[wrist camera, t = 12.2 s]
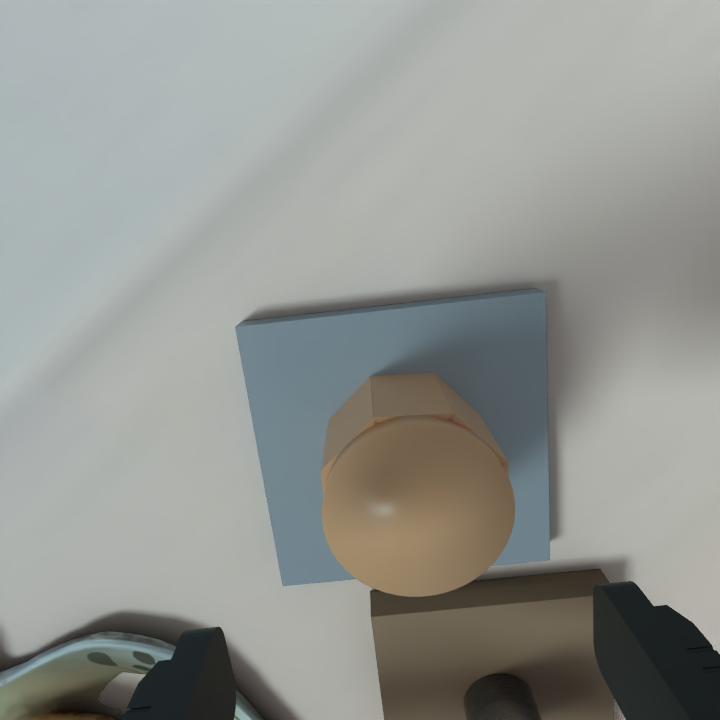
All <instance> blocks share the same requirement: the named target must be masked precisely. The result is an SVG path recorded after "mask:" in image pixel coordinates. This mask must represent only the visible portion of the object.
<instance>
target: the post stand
mask: <svg viewBox="0 0 720 720" xmlns="http://www.w3.org/2000/svg"><path fill="white" fill-rule="evenodd" d="M602 584H610V583H609V581H608V580H607V578H606V577H605V575H604V574H603V573H602V571H601V570H600V569H595V570H585V571H575V572H564V573H554V574H544V575H533V576H523V577H512V578H502V579H492V580H481V581H471V582H469V583H468V584H466V585H464V586H462V587H459V588H457V589H455V590H452V591H449V592H446V593H442V594H437V595H432V596H423V597H407V596H399V595H394V594H389V593H385V592H382V591H380V590H378V591H370V598H371V620H372V628H373V636H374V643H375V651H376V659H377V666H378V674H379V682H380V689H381V697H382V705H383V712H384V720H614V696H613V695H612V693H611V691H610V689H609V687H608V685H607V684H606V682H605V680H604V678H603V676H602V674H601V671H600V669H599V666H598V663H597V660H596V656H595V651H594V643H593V589H594V587H595V586H596V585H602Z"/></svg>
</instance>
